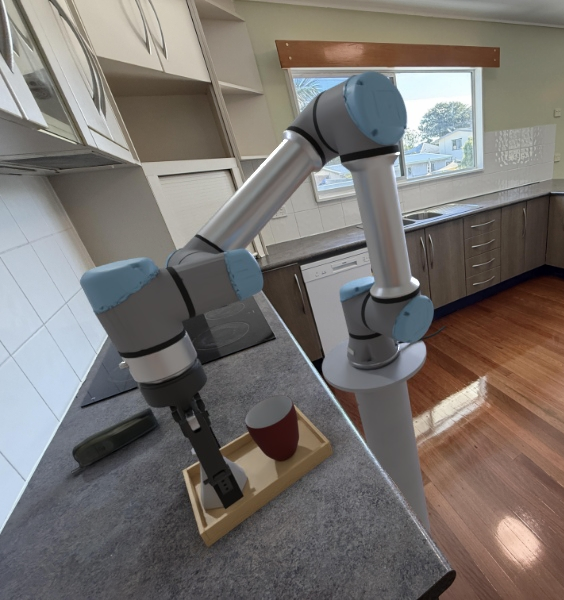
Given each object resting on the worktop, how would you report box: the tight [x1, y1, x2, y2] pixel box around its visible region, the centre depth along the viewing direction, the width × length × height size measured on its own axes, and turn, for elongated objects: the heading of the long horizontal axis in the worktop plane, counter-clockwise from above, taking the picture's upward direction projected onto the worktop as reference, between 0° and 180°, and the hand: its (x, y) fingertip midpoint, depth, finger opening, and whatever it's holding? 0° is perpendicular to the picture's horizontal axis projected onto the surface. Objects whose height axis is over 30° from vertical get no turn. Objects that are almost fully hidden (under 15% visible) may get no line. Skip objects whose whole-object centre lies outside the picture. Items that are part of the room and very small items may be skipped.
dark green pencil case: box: [70, 407, 159, 475], centre depth 66 cm, size 5×3×15 cm
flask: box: [190, 447, 247, 510], centre depth 51 cm, size 7×7×10 cm
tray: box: [181, 404, 334, 548], centre depth 56 cm, size 21×15×3 cm
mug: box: [244, 394, 299, 461], centre depth 57 cm, size 11×8×10 cm
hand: (222, 474), depth 52 cm, fingers open, 13 cm apart
